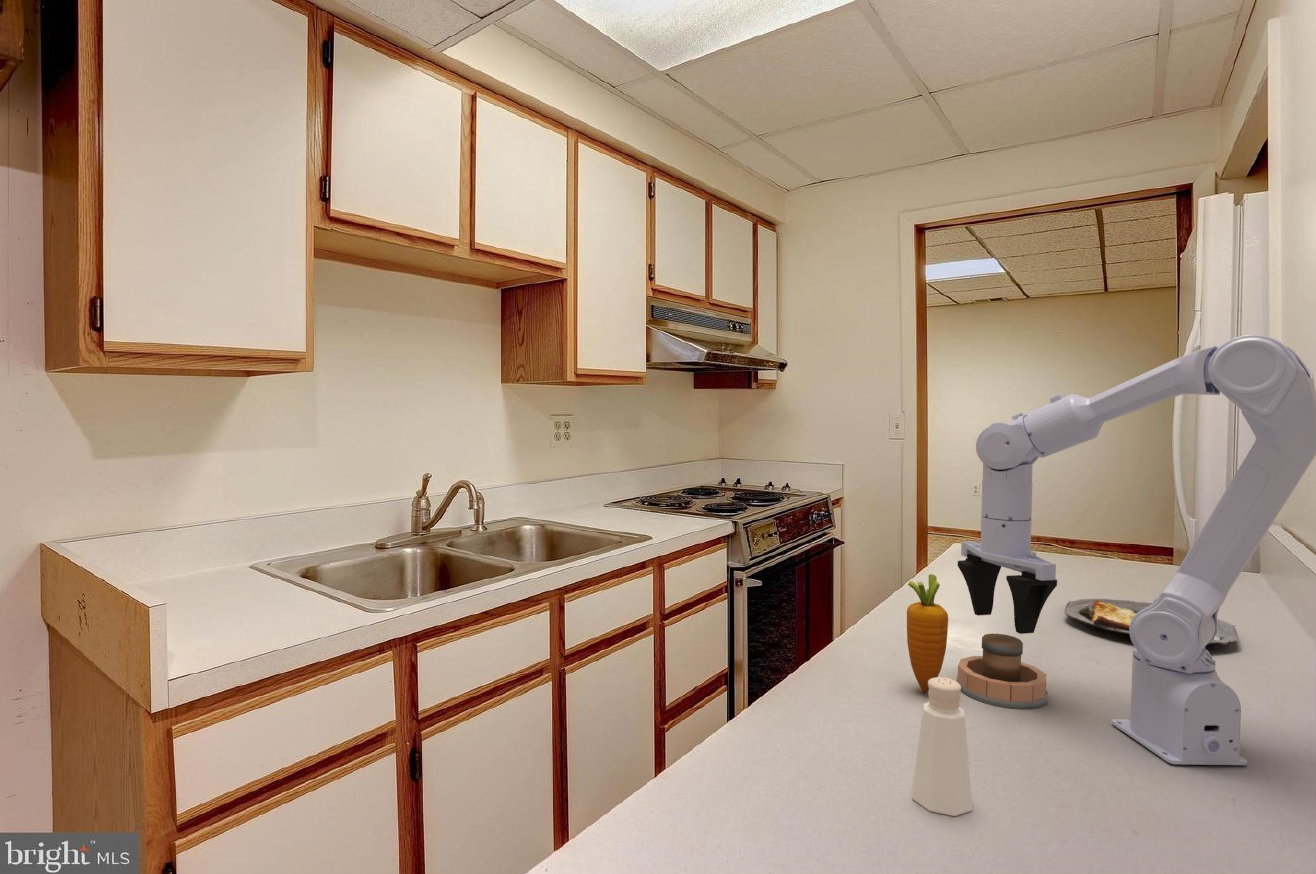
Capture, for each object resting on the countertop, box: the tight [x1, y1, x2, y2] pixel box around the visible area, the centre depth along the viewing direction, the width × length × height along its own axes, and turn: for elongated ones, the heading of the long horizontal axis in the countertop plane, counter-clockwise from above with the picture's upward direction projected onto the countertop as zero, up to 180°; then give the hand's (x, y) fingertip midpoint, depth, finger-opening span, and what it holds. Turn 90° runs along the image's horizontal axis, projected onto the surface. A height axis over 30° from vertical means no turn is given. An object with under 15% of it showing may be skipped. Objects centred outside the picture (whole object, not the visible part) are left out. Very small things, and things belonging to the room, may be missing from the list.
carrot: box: [906, 573, 949, 693], centre depth 87 cm, size 5×5×15 cm
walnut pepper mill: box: [981, 633, 1024, 682], centre depth 88 cm, size 5×5×6 cm
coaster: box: [956, 655, 1049, 710], centre depth 88 cm, size 10×10×3 cm
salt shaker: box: [911, 676, 973, 817], centre depth 63 cm, size 5×5×11 cm
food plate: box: [1063, 598, 1240, 647], centre depth 115 cm, size 25×23×4 cm
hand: (1002, 623), depth 87 cm, fingers open, 7 cm apart
